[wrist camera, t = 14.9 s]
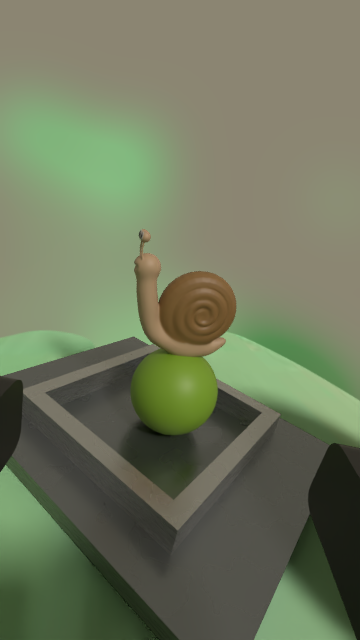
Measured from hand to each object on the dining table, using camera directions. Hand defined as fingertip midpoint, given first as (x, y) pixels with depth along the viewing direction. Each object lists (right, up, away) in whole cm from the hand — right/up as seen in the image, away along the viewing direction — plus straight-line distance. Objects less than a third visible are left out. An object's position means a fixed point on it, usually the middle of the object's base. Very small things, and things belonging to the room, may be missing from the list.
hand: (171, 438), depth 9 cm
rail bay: (-2, -5, +14) cm, 14 cm away
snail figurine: (-1, -4, +13) cm, 14 cm away
